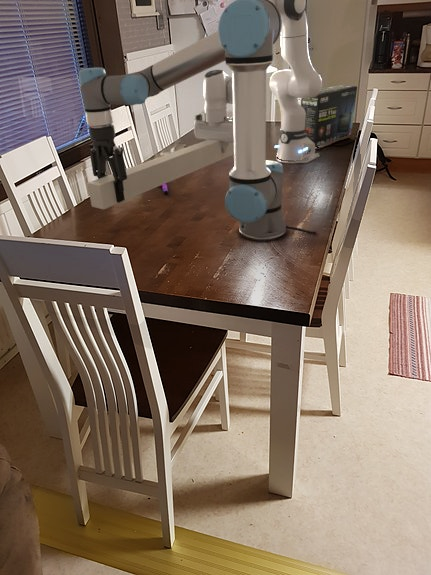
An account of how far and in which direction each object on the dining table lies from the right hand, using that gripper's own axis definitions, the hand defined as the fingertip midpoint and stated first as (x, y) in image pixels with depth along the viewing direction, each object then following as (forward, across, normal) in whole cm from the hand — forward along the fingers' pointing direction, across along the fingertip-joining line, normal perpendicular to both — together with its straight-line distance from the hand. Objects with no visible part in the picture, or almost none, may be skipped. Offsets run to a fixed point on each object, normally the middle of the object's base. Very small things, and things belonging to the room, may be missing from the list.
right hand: (217, 151), depth 187 cm
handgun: (+13, +19, +17) cm, 29 cm away
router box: (+14, -11, -83) cm, 85 cm away
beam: (+2, 0, +29) cm, 29 cm away
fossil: (+14, +40, -22) cm, 48 cm away
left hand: (+1, 0, +58) cm, 58 cm away
